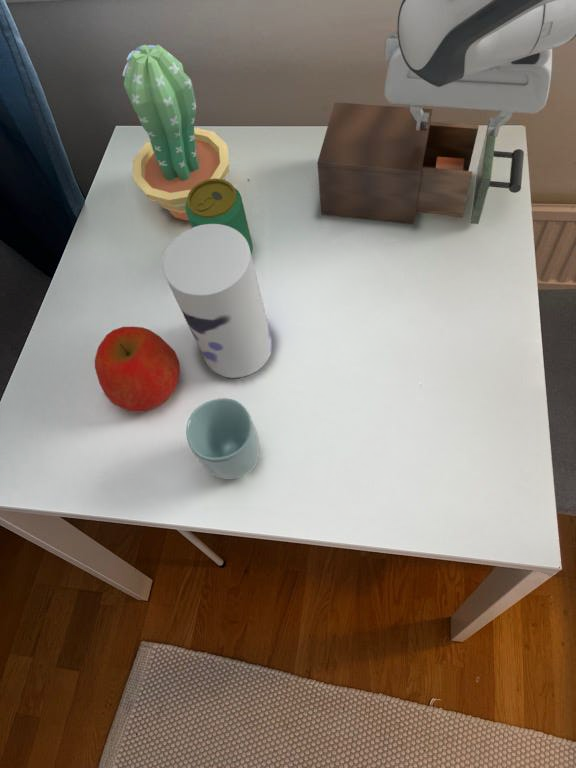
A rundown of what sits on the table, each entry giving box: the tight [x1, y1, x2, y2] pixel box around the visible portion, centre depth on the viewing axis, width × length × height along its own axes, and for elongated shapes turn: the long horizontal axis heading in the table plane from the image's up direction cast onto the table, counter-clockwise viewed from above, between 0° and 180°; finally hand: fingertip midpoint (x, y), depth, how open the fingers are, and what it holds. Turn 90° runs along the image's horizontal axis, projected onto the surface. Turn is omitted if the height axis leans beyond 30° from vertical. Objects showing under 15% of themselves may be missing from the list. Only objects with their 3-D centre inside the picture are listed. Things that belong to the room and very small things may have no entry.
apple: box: [94, 326, 181, 413], centre depth 76 cm, size 11×11×11 cm
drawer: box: [416, 121, 525, 225], centre depth 86 cm, size 18×11×9 cm, turn 77°
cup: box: [185, 397, 261, 480], centre depth 70 cm, size 8×8×10 cm
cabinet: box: [316, 101, 433, 225], centre depth 88 cm, size 15×13×11 cm
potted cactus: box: [122, 43, 230, 222], centre depth 85 cm, size 15×15×25 cm
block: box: [435, 157, 464, 171], centre depth 87 cm, size 4×4×4 cm
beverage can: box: [185, 179, 254, 254], centre depth 85 cm, size 8×8×12 cm
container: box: [161, 224, 274, 379], centre depth 73 cm, size 10×10×20 cm
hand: (456, 130), depth 80 cm, fingers open, 8 cm apart
